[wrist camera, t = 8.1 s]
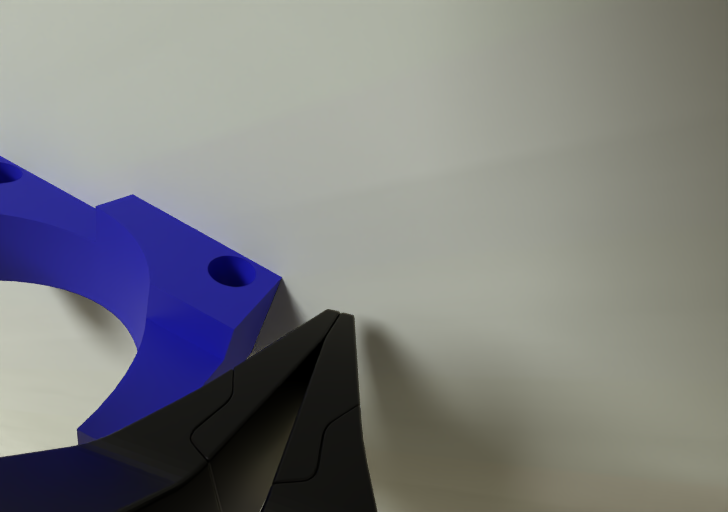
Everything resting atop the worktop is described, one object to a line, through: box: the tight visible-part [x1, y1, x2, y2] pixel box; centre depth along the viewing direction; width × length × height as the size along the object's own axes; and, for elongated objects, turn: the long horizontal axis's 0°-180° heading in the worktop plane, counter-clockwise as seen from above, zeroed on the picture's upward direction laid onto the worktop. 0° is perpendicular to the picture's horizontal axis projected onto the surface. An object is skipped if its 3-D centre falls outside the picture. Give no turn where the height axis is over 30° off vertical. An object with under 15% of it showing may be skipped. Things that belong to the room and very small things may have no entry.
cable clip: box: [0, 156, 282, 445], centre depth 10 cm, size 12×4×6 cm, turn 64°
